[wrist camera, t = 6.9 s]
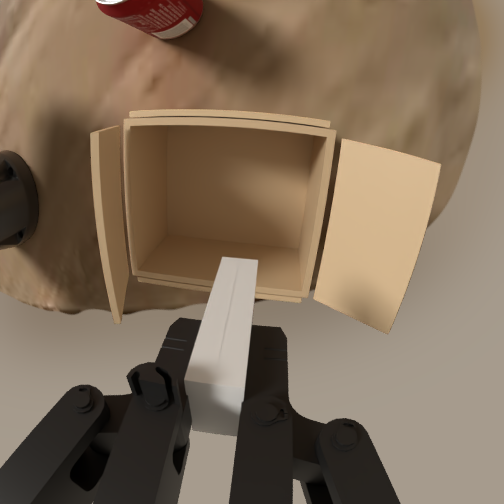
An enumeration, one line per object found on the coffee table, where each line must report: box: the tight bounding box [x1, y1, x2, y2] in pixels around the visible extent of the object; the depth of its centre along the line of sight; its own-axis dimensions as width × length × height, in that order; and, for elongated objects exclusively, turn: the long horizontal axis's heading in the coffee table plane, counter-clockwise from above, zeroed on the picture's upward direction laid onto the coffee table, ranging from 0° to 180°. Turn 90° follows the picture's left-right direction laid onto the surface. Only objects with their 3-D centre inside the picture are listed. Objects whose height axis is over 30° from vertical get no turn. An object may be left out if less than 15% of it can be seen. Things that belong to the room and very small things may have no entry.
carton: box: [124, 109, 336, 303], centre depth 27 cm, size 16×15×9 cm
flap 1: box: [90, 126, 129, 324], centre depth 19 cm, size 7×13×1 cm
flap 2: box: [313, 139, 442, 334], centre depth 20 cm, size 7×13×1 cm
